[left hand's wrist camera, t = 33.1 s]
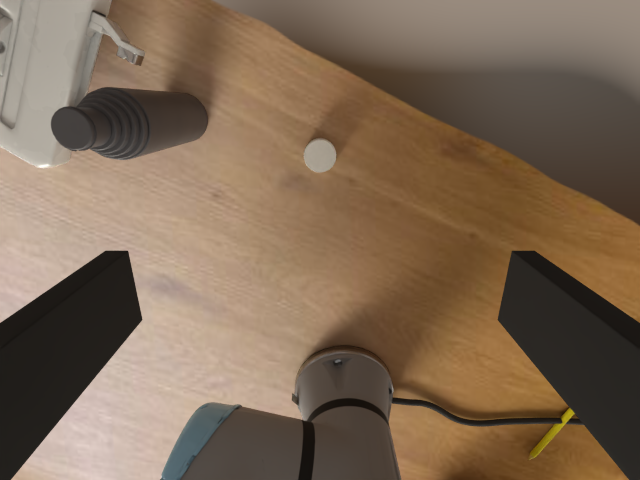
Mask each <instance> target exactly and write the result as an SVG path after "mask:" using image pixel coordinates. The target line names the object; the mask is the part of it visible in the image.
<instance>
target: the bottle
mask: <svg viewBox="0 0 640 480" xmlns="http://www.w3.org/2000/svg"><path fill="white" fill-rule="evenodd" d="M207 123H208V118H207V113H206V110H205V108H204V106H203V105H202V103H201V102H200V101H199V100H198V99H197V98H195V97H194V96H192V95H190V94H186V93H176V92H163V91H151V90H138V89H126V88H113V87H105V88H100V89H97V90H95V91H92V92H90V93H89V94H87V95H86V96H85V97H84V98H83V99H82V101H81V102H80V103H79V104H78V105H77V107H72V106H68V107H62V108H60V109H58V110H57V111H56V112H55V113H54V115H53V116H52V119H51V129H52V132H53V135H54V137H55V138H56V140H57V141H58V142H59V143H60V144H61V145H62V146H63V147H64V148H67V149H69V150H71V151H77V150H79V151H82V150H87V149H91V150H93V151H95V152H96V153H98V154H100V155H102V156H104V157H107V158H111V159H118V160H128V159H132V158H136V157H139V156H142V155H146V154H149V153H153V152H156V151H160V150H163V149H167V148H170V147H173V146H177V145H180V144H184V143H187V142H191V141H194V140H197V139H198V138H200V137H201V136H202V135H203V134H204V132H205V130H206V128H207Z"/></svg>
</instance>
